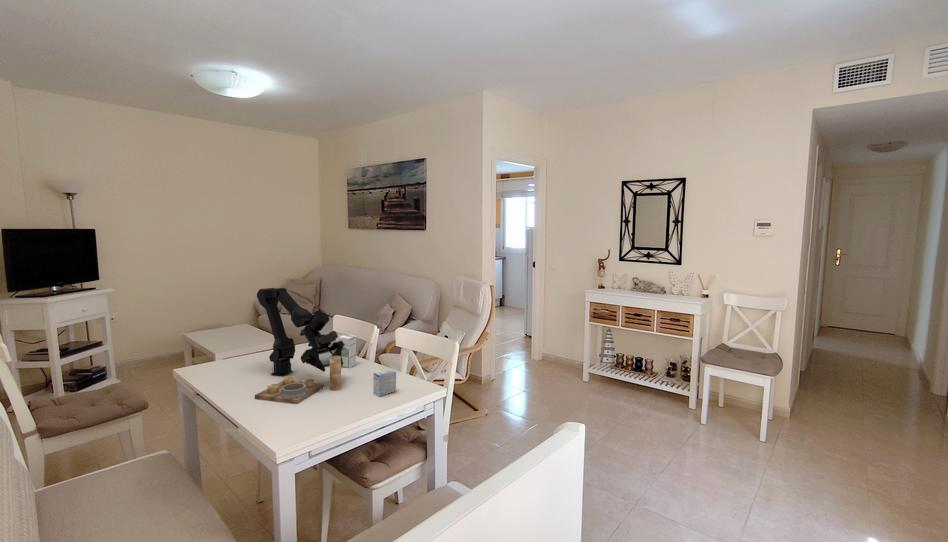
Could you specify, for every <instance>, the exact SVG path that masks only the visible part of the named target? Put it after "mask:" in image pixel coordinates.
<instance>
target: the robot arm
mask: <svg viewBox="0 0 948 542" xmlns="http://www.w3.org/2000/svg"><path fill="white" fill-rule="evenodd" d="M256 298H257V300H258V302H259V304H260V306H262V307H263V308H264V310H265V312H266V316H267V318H268V322H269V325H270V328H271V331H272V335H273V339H274V342H273V345H272V350H273V351H272V352H271V353H270V354H269V356H268V357H269V361H270V362H273V371H272V373H271V376H278V377H279V376H281V377H285V376H287V375H289V374H291V373H293V372H294V371H293V370H292V362H291V359H294V356H295V352H296V345H295V343H294V339H293V338H292V337H291V338H290V337H288V336H287V333H286V330H285V329H286V328H285V327H284V326H285V325H284V323H283V319H282V315H281V314H280V309H279V303H280V304H281V305H282V306H283V308H284V309H285V310H286V311H287V312H288V313H289V315H290V320H291V322H292V323H293V325H294V326H295V327H296V328H301V329H300V333H299V336H300V337H303V336H304V337H305V338H306V340H307V342H308V344H307V346H308V347H309V348H308V349H305V350H304V352H303V353H302V354H301V355H300V360H301V362H302V364H305V363H306V364H307V365H310V366H312V367H315V368H316V369H318V370H320V371H322V373H323V372H324V373H325V372H326V367H325V365H324V366H323V364H322V362H321V361H320V359H319V355H320V354H323V353H326V352H330V353H331V354H332V356H341V366H342V365H343V360H342V355H341V350H342V349H343V347H344V345H345V344H344V343H343V341H339V340H338V341H336V340H337V339H338V338H339V336H338V333H337V332H336V331H335V330H332V331H330V332H329V333H327V334H321V331H322V330H324V328H325V326H326V325H327V324H328V322H330V316H329V315H328V314H326V313H325V312H323V311H321V310H320V309H317V310H315V311H314V313H311V311H309V310H308V309H306V308H305V307H304V308H303V307H301V306H300V305H299V304H298V303H297V301H296V300H295V299H294V298H293V297H292V296H291V295H290V293H289V292H288V291H287V288H286V287H268V288H265V287H264V288H260V289H258V291H257V293H256ZM302 327H303V328H302ZM332 342H333V343H332ZM330 345H331V346H330ZM310 347H311V348H310ZM284 375H285V376H284Z"/></svg>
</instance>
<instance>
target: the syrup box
mask: <svg viewBox="0 0 948 542" xmlns="http://www.w3.org/2000/svg"><path fill="white" fill-rule="evenodd" d="M356 338H357V337H356V335H353V334H343V335H340V336H338V341H343V343H344V344H345V345H344V347H343V349H342V350H341V355H342V360H343V365H342V366H341V368H346V367H347V368H348V369H351V368H353V367H355V366H357V365H356V364H357V348H356V347H357V339H356ZM354 365H355V366H354ZM352 366H353V367H352ZM350 367H351V368H350Z"/></svg>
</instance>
